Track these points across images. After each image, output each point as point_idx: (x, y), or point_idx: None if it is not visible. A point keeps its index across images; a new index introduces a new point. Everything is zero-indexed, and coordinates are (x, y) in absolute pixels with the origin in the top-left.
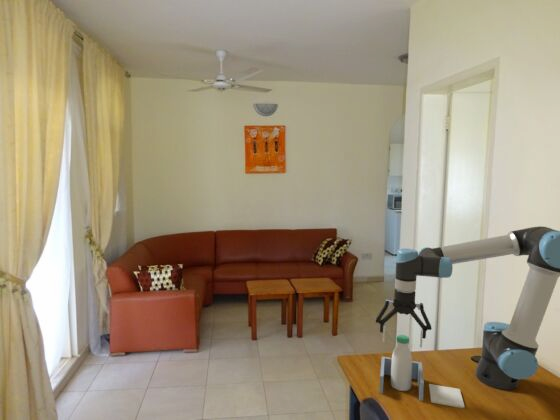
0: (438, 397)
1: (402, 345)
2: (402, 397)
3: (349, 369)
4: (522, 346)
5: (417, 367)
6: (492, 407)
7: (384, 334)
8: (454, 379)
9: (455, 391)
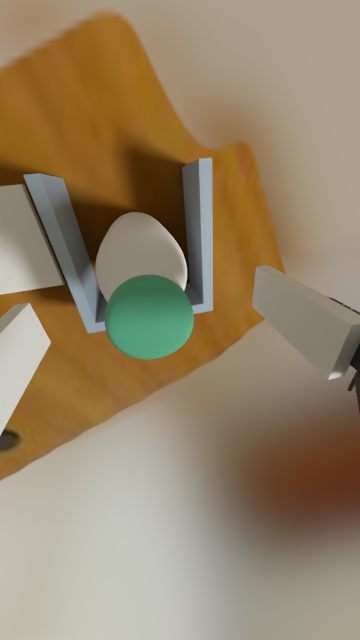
0: (6, 216)
1: (143, 272)
2: (119, 174)
3: (275, 265)
4: None
5: (99, 315)
6: None
7: (290, 285)
8: None
9: None
